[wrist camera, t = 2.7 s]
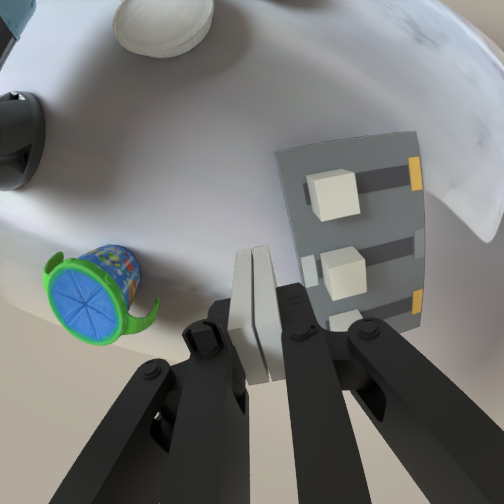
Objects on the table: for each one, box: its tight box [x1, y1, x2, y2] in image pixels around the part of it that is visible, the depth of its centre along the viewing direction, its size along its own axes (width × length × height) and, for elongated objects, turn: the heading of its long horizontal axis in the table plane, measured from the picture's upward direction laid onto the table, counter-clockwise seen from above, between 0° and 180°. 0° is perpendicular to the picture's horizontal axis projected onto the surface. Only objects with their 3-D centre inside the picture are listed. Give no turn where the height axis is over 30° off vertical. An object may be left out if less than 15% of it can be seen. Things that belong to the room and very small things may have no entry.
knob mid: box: [320, 246, 367, 301], centre depth 30 cm, size 4×4×4 cm
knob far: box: [329, 309, 362, 332], centre depth 34 cm, size 4×4×4 cm
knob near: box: [306, 169, 360, 222], centre depth 27 cm, size 4×4×4 cm
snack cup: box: [43, 245, 160, 346], centre depth 30 cm, size 16×10×10 cm
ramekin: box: [113, 0, 215, 58], centre depth 21 cm, size 11×11×5 cm
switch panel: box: [274, 132, 425, 333], centre depth 33 cm, size 17×28×2 cm, turn 14°
